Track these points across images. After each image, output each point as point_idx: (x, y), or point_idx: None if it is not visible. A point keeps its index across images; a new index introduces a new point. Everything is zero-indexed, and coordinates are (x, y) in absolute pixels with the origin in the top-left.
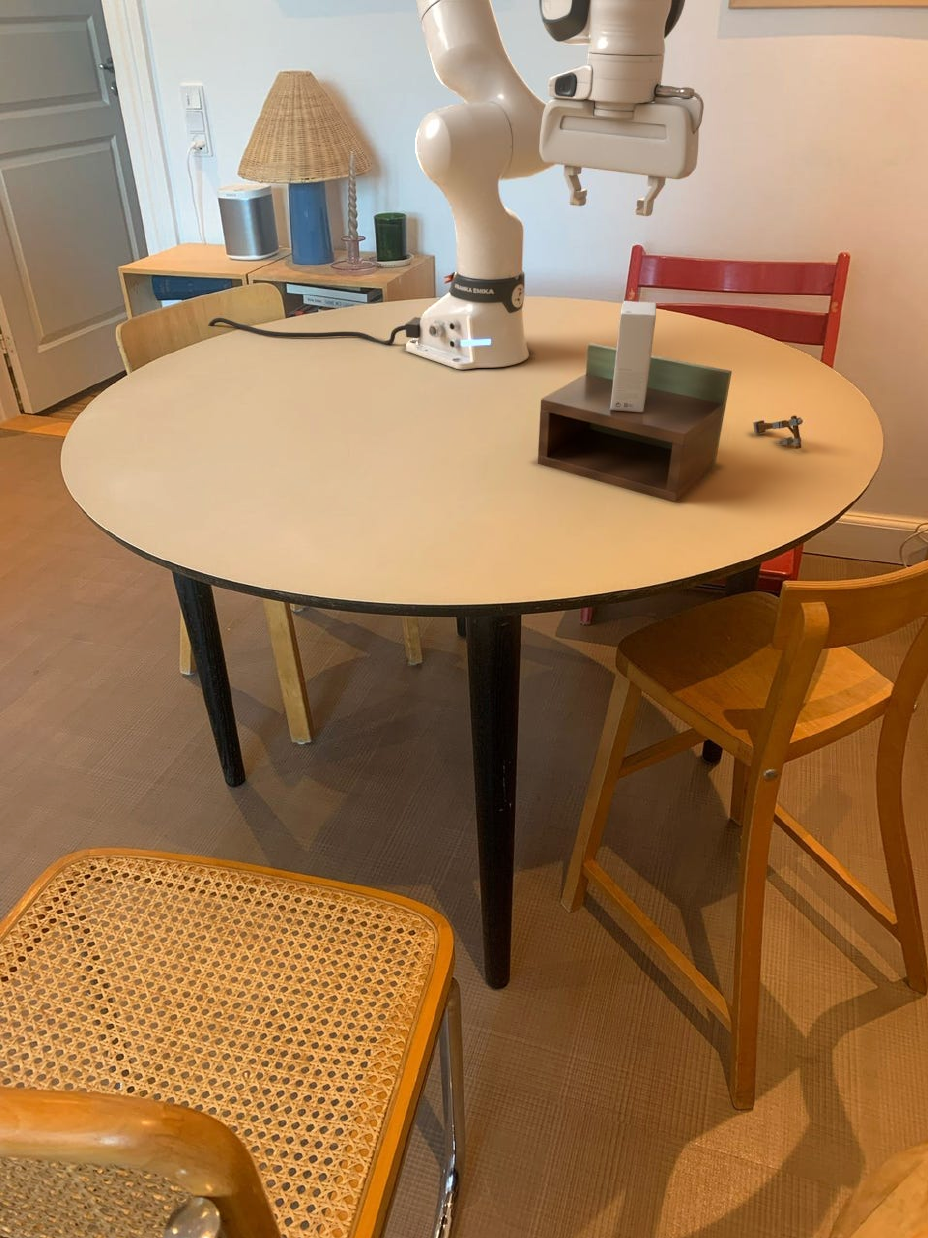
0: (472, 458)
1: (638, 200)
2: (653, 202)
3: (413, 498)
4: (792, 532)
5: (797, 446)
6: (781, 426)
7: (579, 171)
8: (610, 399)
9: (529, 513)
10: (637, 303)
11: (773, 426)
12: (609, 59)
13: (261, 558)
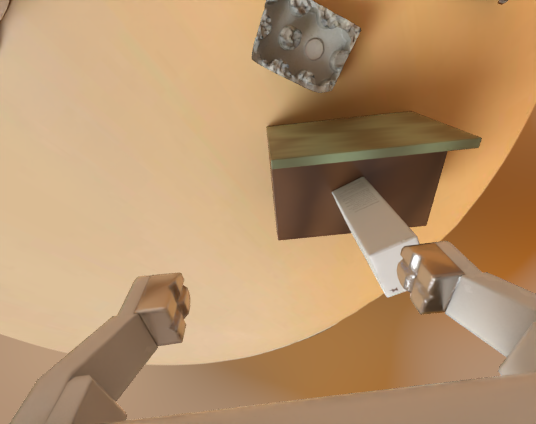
0: (229, 229)
1: (424, 311)
2: (471, 264)
3: (245, 285)
4: (486, 180)
5: (501, 3)
6: None
7: (98, 397)
8: (334, 202)
9: (314, 260)
10: (393, 257)
11: None
12: None
13: (238, 346)
